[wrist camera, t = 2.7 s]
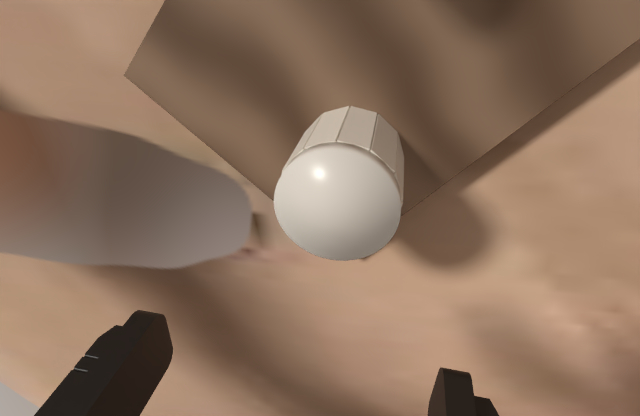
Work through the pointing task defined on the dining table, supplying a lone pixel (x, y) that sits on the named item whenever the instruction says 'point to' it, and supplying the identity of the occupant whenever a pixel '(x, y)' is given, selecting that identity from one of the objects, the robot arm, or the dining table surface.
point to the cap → (343, 185)
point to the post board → (372, 72)
